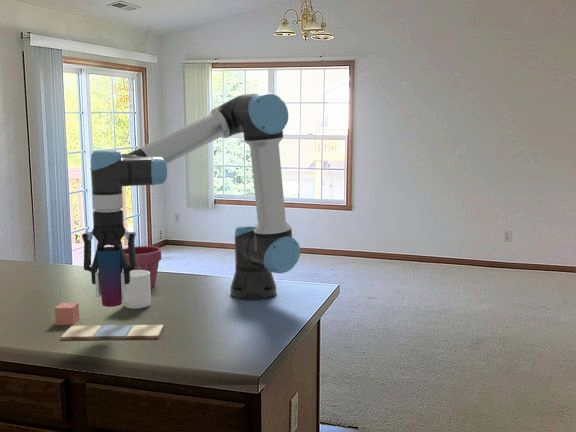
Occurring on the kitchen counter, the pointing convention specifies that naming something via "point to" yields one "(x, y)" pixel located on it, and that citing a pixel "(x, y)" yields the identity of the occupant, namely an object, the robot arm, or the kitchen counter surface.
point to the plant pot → (146, 260)
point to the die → (67, 313)
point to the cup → (110, 276)
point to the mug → (138, 290)
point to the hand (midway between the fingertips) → (111, 295)
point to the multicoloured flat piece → (113, 332)
